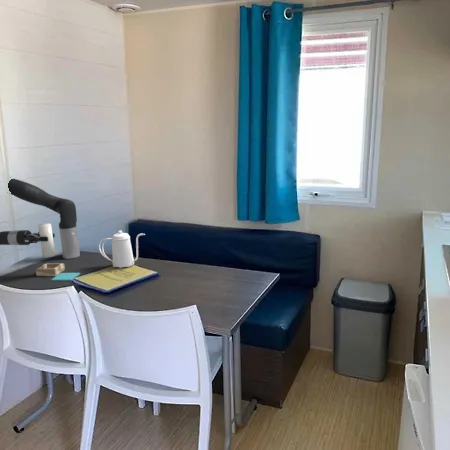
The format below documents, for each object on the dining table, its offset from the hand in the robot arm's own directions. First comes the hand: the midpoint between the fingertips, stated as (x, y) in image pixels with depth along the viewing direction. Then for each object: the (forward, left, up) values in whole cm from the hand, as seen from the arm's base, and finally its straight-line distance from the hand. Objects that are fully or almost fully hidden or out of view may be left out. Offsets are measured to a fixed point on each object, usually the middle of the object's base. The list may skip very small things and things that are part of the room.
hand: (51, 237), depth 226 cm
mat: (+7, +9, -19) cm, 22 cm away
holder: (0, -3, -19) cm, 19 cm away
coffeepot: (-11, +32, -19) cm, 39 cm away
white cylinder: (0, -2, -10) cm, 10 cm away
